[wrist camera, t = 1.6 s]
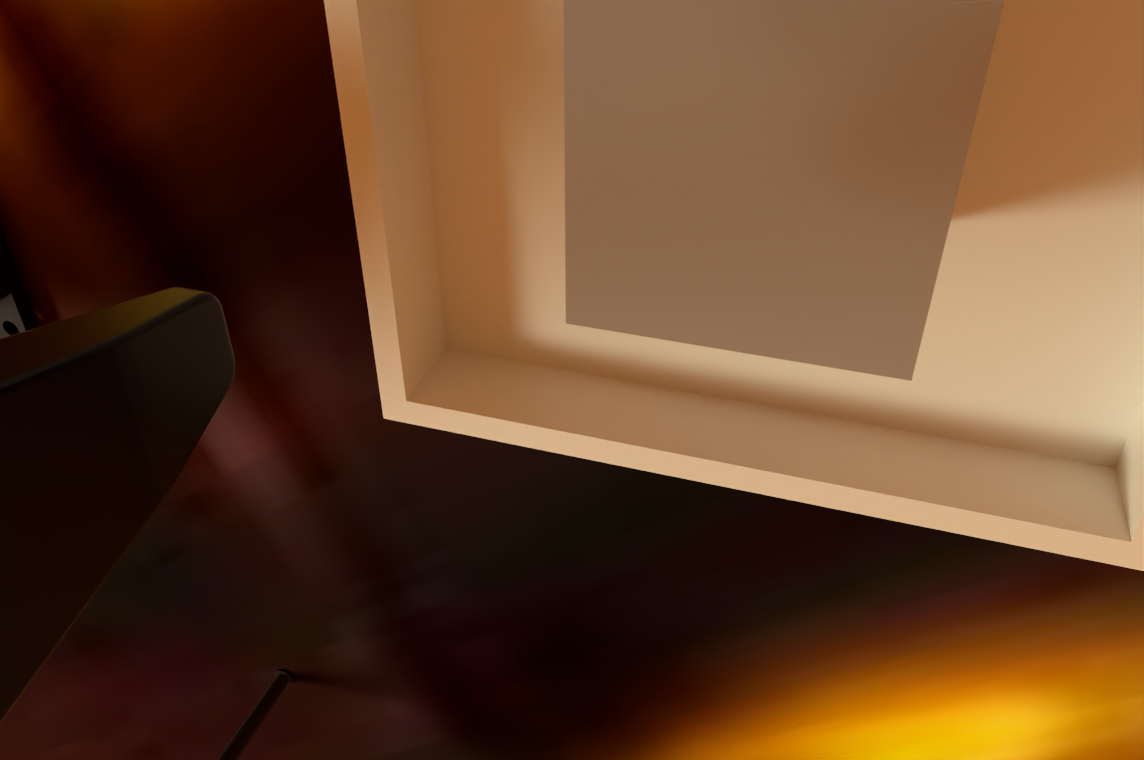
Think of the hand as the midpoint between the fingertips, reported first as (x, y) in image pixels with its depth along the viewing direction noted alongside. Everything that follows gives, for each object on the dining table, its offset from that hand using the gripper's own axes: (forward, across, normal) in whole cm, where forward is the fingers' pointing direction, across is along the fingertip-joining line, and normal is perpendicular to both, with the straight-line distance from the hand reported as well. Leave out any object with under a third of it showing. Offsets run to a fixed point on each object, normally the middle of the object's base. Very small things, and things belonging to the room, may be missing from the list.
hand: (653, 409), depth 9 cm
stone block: (+10, 0, 0) cm, 10 cm away
